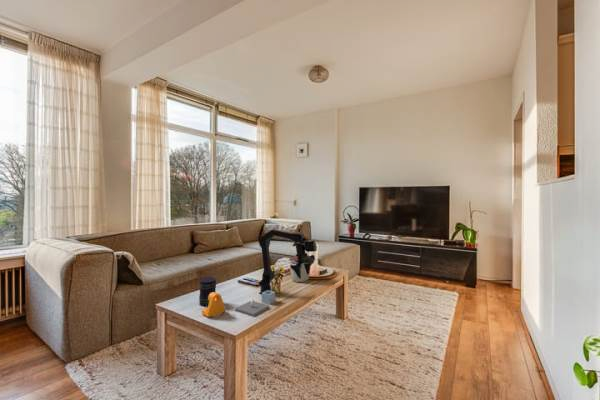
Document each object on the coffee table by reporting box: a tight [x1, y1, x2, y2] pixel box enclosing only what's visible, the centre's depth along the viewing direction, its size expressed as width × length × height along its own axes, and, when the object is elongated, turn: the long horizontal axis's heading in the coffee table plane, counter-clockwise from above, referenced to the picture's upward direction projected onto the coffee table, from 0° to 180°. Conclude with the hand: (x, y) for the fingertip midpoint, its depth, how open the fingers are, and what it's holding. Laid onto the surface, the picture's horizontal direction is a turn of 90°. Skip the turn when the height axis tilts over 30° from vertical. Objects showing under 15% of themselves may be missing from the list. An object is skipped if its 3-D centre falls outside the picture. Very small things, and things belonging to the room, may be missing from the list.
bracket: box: [201, 291, 226, 318], centre depth 160 cm, size 11×7×12 cm, turn 139°
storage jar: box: [198, 276, 217, 308], centre depth 174 cm, size 10×10×15 cm
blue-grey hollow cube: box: [261, 290, 276, 306], centre depth 177 cm, size 6×6×6 cm
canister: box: [288, 255, 311, 283], centre depth 221 cm, size 18×18×21 cm
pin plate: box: [234, 299, 270, 317], centre depth 166 cm, size 14×14×6 cm
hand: (304, 276), depth 182 cm, fingers open, 9 cm apart
